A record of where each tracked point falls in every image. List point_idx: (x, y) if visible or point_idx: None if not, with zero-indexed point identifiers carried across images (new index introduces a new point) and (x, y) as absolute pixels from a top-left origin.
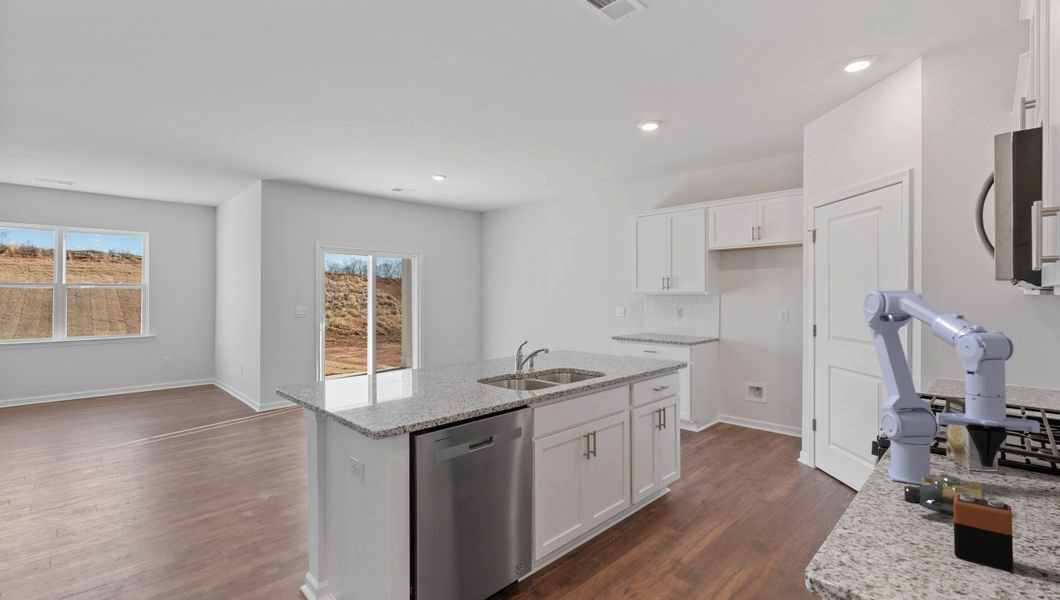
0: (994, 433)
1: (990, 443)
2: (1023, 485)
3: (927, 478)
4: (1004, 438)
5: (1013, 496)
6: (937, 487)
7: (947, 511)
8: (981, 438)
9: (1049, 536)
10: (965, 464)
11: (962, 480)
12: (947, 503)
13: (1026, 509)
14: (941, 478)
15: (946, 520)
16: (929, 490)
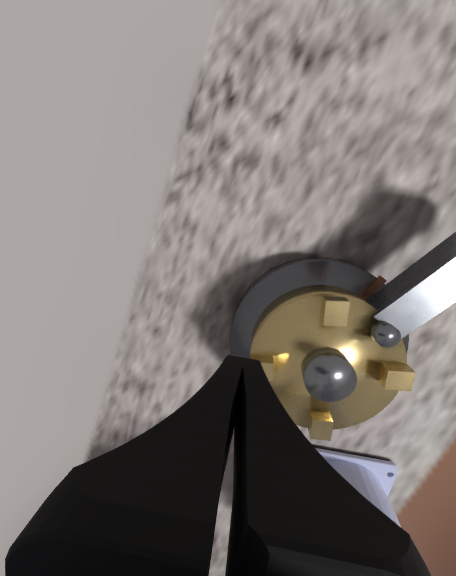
0: (172, 526)
1: (223, 438)
2: None
3: (404, 371)
4: (96, 461)
5: None
6: (397, 306)
7: (353, 265)
8: (300, 480)
9: (164, 202)
10: None
11: None
12: None
13: (155, 361)
14: (331, 412)
15: (373, 215)
16: (444, 264)
